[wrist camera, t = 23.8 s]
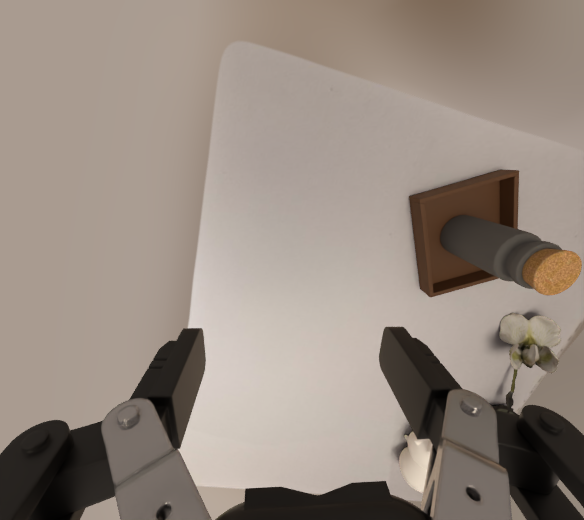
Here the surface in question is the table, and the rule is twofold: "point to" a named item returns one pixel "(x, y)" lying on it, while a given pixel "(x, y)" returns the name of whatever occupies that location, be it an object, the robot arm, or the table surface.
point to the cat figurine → (415, 461)
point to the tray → (448, 204)
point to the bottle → (511, 254)
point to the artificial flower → (529, 346)
